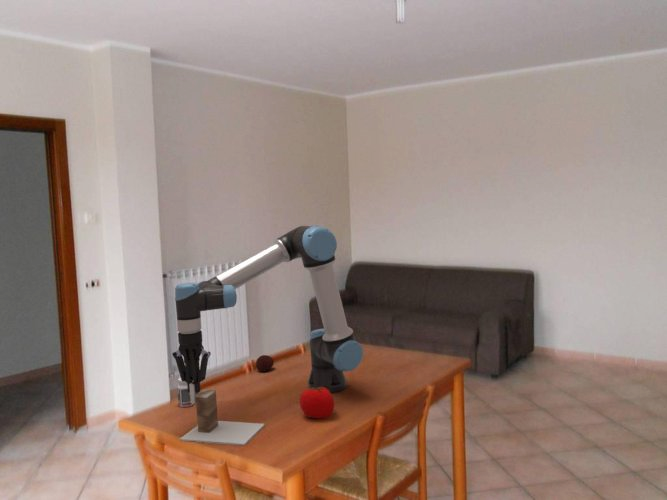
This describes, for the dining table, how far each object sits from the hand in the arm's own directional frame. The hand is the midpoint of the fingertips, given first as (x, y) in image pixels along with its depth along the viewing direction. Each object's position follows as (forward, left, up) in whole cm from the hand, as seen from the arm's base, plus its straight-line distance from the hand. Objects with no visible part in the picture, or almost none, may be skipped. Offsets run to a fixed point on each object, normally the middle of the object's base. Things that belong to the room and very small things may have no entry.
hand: (194, 402), depth 191 cm
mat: (-10, +1, -9) cm, 14 cm away
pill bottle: (+16, -21, -10) cm, 28 cm away
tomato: (-36, -18, -10) cm, 42 cm away
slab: (-4, 0, -9) cm, 10 cm away
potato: (+4, -66, -10) cm, 67 cm away
